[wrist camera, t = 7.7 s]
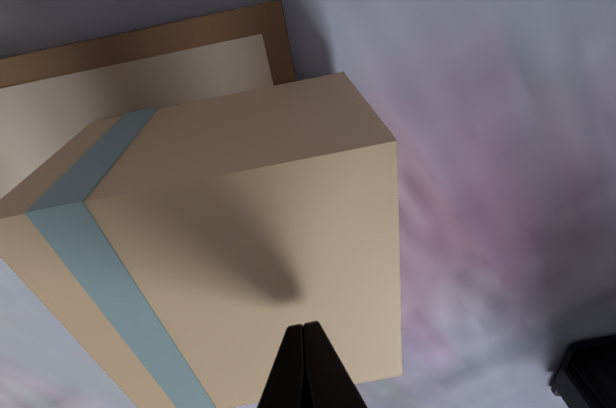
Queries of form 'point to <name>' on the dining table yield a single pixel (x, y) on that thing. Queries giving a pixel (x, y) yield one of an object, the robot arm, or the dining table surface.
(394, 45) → the dining table surface
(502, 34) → the dining table surface
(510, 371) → the dining table surface
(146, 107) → the picture frame
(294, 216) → the carton
